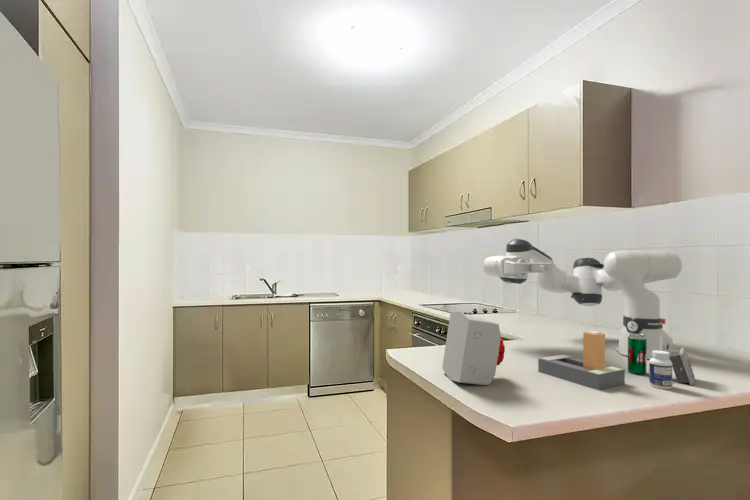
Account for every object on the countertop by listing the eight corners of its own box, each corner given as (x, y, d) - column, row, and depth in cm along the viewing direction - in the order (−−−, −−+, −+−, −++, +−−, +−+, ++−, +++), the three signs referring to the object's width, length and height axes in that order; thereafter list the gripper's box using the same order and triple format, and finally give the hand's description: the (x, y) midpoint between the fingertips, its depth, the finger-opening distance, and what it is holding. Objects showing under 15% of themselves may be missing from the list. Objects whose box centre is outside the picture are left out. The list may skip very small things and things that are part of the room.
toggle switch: (563, 366, 137) (563, 354, 137) (624, 383, 120) (624, 369, 120) (538, 371, 131) (538, 358, 131) (598, 389, 114) (598, 374, 114)
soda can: (639, 376, 128) (640, 336, 128) (623, 371, 132) (624, 333, 132) (650, 374, 130) (650, 335, 130) (634, 370, 135) (634, 332, 135)
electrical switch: (694, 386, 118) (690, 353, 119) (671, 384, 121) (668, 352, 122) (695, 379, 125) (691, 347, 126) (674, 377, 129) (670, 347, 129)
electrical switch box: (508, 393, 117) (519, 322, 118) (458, 387, 115) (469, 314, 115) (486, 377, 131) (495, 314, 132) (441, 372, 129) (451, 308, 130)
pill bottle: (650, 382, 121) (650, 348, 122) (673, 386, 118) (673, 351, 118) (648, 386, 117) (648, 351, 117) (671, 390, 114) (671, 355, 114)
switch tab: (591, 374, 124) (592, 330, 124) (604, 378, 121) (604, 332, 121) (583, 376, 122) (583, 331, 122) (595, 380, 119) (596, 333, 119)
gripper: (535, 274, 167) (565, 276, 155) (497, 275, 157) (526, 277, 145) (535, 259, 167) (565, 259, 155) (497, 258, 157) (526, 259, 145)
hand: (546, 268), depth 150 cm, fingers closed
